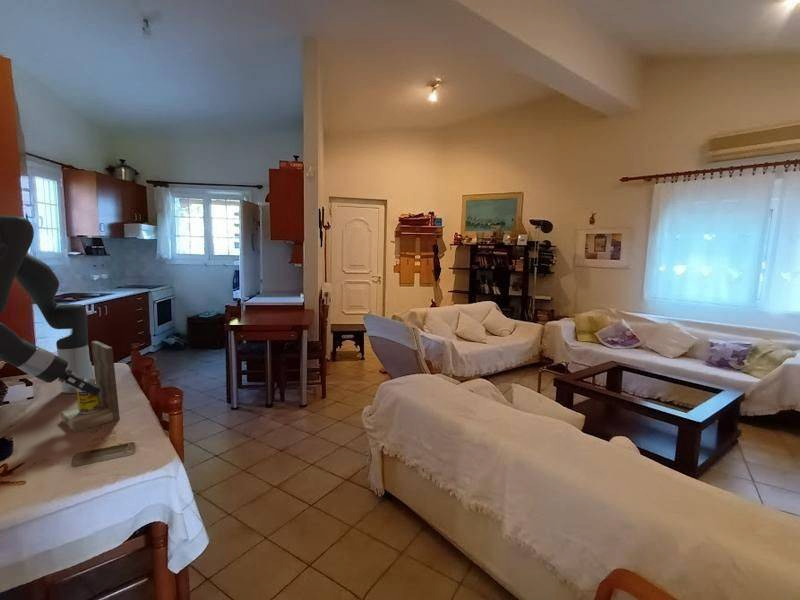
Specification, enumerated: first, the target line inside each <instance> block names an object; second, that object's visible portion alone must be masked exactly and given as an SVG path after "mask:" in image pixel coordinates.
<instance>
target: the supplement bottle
mask: <svg viewBox="0 0 800 600" xmlns="http://www.w3.org/2000/svg"><path fill="white" fill-rule="evenodd" d="M84 381H85V382H87V383H90V385H92V386H94V387H96V388H98V385H97V384H96V380H95V379H94V378H93V379H84ZM84 385H85V384H84V383H81V384H80V385H79V387H81V388H82V387H83V386H84ZM98 389H99V388H98ZM76 391H77V393H76V398H77V407H78V410H79V413H81V414H88V413H93V412H96V411H98V410H99V409H100V398H99V393H98V395H96V396H94V395H92V394H90V393H88V392H86V391H85V392H84V391H81V390H80V389H78V388H77V390H76Z"/></svg>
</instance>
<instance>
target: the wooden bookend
mask: <svg viewBox="0 0 800 600" xmlns="http://www.w3.org/2000/svg"><path fill="white" fill-rule="evenodd" d="M90 343H91V344H90V345H91V353H92V354H91V355H92V363H93V372H94V378H95V379H94V380H95V384H97V385H98V388H99V389H100V390H101V391H100V392H99V398H100V409H99V410H98V411H96V412H93V413H88V414H81V413H79V410H78V406H77V407H73V408H71V409H65V410H63V411H60V413H61V421H62V422H63V423H64V424H65V425H67V427H68V428H69V429H71V430H72V431H73V432H74V433H79V432H82V431H85V430H87V429H92V428H94V426H95V427H97V425H98V426H101V425H104V424H103V423H105V424H107V422H108V423H111V422H117V421H119V419H121V417H120V408H119V400H118V399H119V397H118V389H117V380H116V370H115V361H114V360H115V359H114V350H113V347H112V346H109V345H107V344H105V343H103V342H100V341H98V340H93V341H92V340H91V341H90ZM110 421H111V422H110ZM100 424H101V425H100ZM91 427H92V428H91Z"/></svg>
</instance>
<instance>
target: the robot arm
mask: <svg viewBox="0 0 800 600" xmlns="http://www.w3.org/2000/svg"><path fill="white" fill-rule="evenodd" d="M34 236H35V230H34V227H33V224H32V223H31V221H30V220H29V219H27V218H26V217H24V216H17V215H0V314H2V313H3V312H4V311H5V310H6V307H7V303H8V302H9V301H8V300H9V296H10V292H11V289H12V286H13V282H14V280H15V279H16V280H17V281H18V283H19V284H20V285H21V287H22V288H23V290H25V292H26V293H27V294H28V295H29V297H31V299H32V300H33V302H34V303H35V304H36V306H37V307H38V309H39V311H40V312H41V314H42V316H43V317H44V319H45V321H46V322H47V325H49V326H50V328H52V329H56V330H71V329H72V330H71V334H70V335H67V336H64V337H62V338H59V339H57V341H56V342H55V345H56V346H55V347H56V352H57V353H56V354H57V355H56V354H54V353H53V352H51V351H49V350H47V349H45V348H41V347H39V346H37V345H35V344H33V343H31V342H30V341H27V340H26V339H24V338H21V337H20V336H19V335H18V334H17V333H16V332H15V331H13V329H11V328H10V327H9V326H7V325H6V324H5V323H2V322H0V360H1V361H2V362H5V363H7V364H10V365H12V366H13V367H16V368H17V369H19V370H21V371H22V372H24V373H25V374H28V375H29V376H32V377H34V378H37V379H38V380H40V381H42V382H45V383H47V384H48V383H52V382H55V381H56V380H57V379H58V381H59V382H60V383H61V384H60V385H61V390H62V393H63V394H68V393H69V394H77V391H76V390H77V388H78V389H80V390H81V391H84V392H85V391H86V392H88V393H90V394H92V395H94V396H96V395H98V393H99V392H100V391H101V390H100V389H98V388H96V387H94V386H92V385H90V383H87V382H85V381H84V379H94V373H93V372H94V369H93V365H92V364H93V361H91V359H90V358H91V357H90V350H89V342H88V340H89V339H88V338H89V333H88V332H89V331H88V329H89V328H88V312H87V310H86V307H85V306H84V305H83V304H81V303H79V304H78V303H76V304H75V303H72V304H71V303H70V304H69V303H68V304H67V303H66V304H59V303H57V301H55V296H56V295H57V293H58V290H59V288H60V281H59V279H58V277H57V275H56V274H55V273H54V271H53V269H52V268H51V267H50V265H48V264H47V263H45V262H44V261H42V260H41V259H39V258H37V257H36V256H33V255H31V254H29V253H28V252H29V250H30V248H31V246H32V243H33V240H34ZM81 383H84V384H85V385H84V386H83V387H82V388H81V387H79V385H80V384H81Z"/></svg>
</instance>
